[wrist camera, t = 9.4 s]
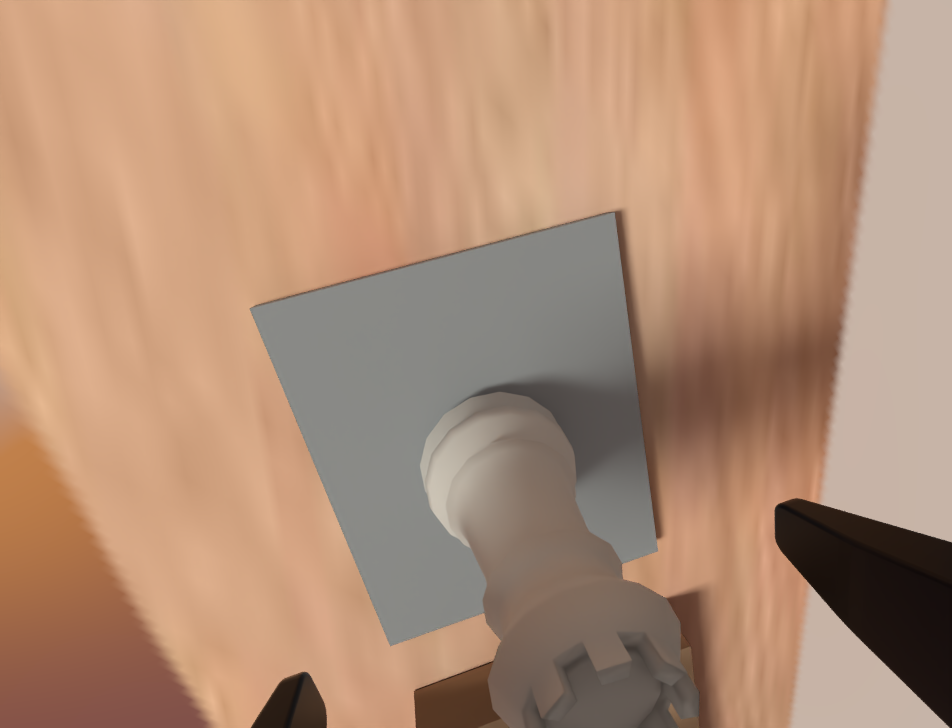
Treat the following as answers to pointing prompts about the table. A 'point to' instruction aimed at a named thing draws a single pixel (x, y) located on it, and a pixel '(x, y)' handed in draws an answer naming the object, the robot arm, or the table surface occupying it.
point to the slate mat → (462, 399)
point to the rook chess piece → (551, 577)
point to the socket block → (469, 702)
